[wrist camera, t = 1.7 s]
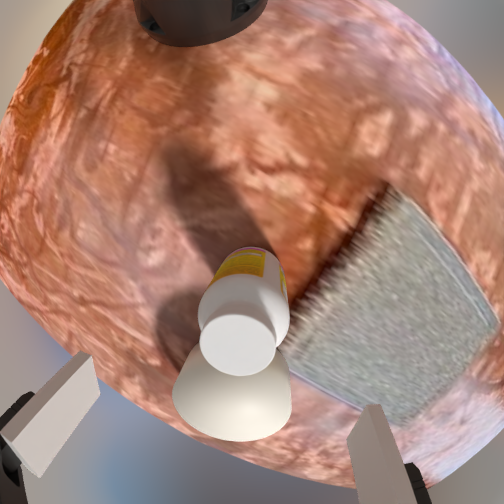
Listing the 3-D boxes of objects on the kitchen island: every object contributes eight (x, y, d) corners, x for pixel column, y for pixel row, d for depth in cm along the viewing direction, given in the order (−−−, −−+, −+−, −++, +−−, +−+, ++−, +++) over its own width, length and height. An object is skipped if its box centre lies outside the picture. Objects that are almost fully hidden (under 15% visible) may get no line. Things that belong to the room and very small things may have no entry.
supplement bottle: (207, 276, 28) (162, 342, 16) (250, 231, 27) (230, 272, 14) (253, 318, 29) (240, 401, 17) (298, 276, 28) (315, 346, 15)
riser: (176, 331, 31) (159, 360, 25) (288, 329, 29) (291, 361, 24) (197, 407, 34) (186, 437, 28) (289, 408, 32) (291, 440, 27)
